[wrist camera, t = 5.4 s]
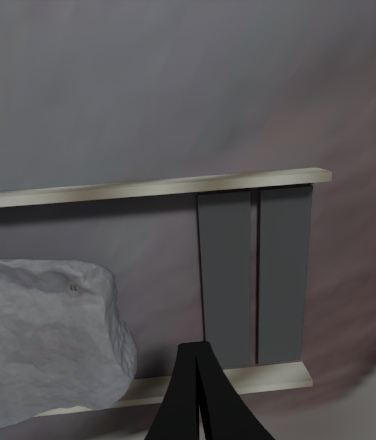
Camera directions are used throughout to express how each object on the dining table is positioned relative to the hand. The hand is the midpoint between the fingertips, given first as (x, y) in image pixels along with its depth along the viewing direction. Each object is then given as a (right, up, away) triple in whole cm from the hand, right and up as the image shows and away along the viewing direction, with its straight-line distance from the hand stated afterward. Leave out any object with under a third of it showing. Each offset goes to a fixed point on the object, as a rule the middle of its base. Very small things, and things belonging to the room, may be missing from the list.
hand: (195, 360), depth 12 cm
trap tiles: (+4, +2, +6) cm, 7 cm away
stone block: (-10, 0, +6) cm, 12 cm away
